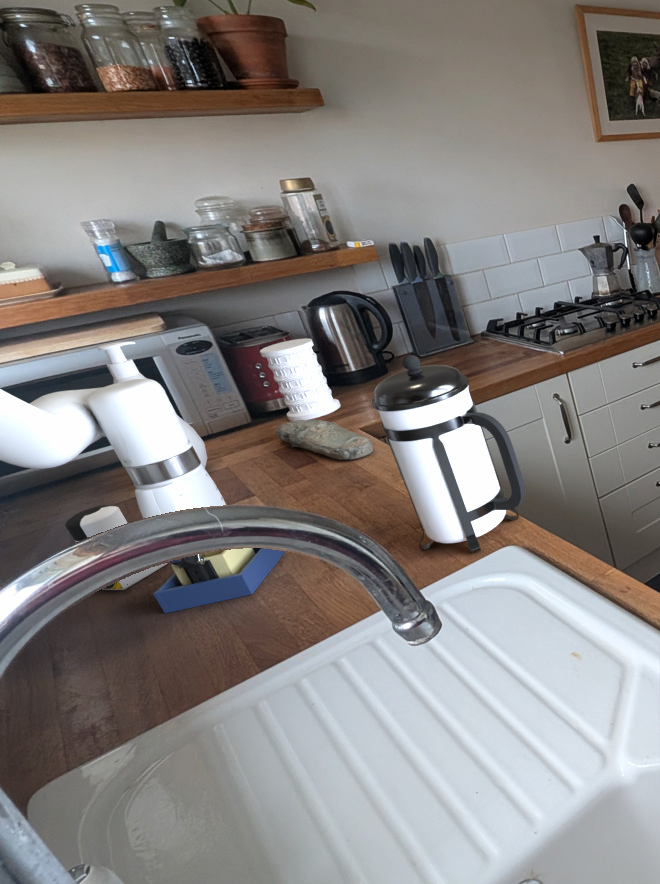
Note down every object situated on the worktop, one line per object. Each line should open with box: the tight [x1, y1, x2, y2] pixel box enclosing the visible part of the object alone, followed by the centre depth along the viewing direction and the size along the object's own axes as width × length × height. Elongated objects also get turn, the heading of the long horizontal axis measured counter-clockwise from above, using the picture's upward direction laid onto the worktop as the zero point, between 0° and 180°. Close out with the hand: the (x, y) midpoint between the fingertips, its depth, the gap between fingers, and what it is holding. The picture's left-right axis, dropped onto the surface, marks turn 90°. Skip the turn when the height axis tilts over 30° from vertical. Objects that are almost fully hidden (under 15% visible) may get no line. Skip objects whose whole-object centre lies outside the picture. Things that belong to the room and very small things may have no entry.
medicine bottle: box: [64, 504, 168, 591], centre depth 105 cm, size 7×7×12 cm
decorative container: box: [259, 337, 342, 422], centre depth 170 cm, size 12×12×18 cm
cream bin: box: [170, 548, 256, 586], centre depth 101 cm, size 7×7×5 cm
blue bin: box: [153, 548, 285, 614], centre depth 102 cm, size 11×11×4 cm
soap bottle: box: [97, 340, 208, 470], centre depth 137 cm, size 17×12×29 cm
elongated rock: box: [274, 419, 374, 461], centre depth 150 cm, size 35×5×10 cm
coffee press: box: [370, 354, 526, 555], centre depth 102 cm, size 17×16×30 cm
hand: (220, 570), depth 102 cm, fingers closed on cream bin, 6 cm apart
